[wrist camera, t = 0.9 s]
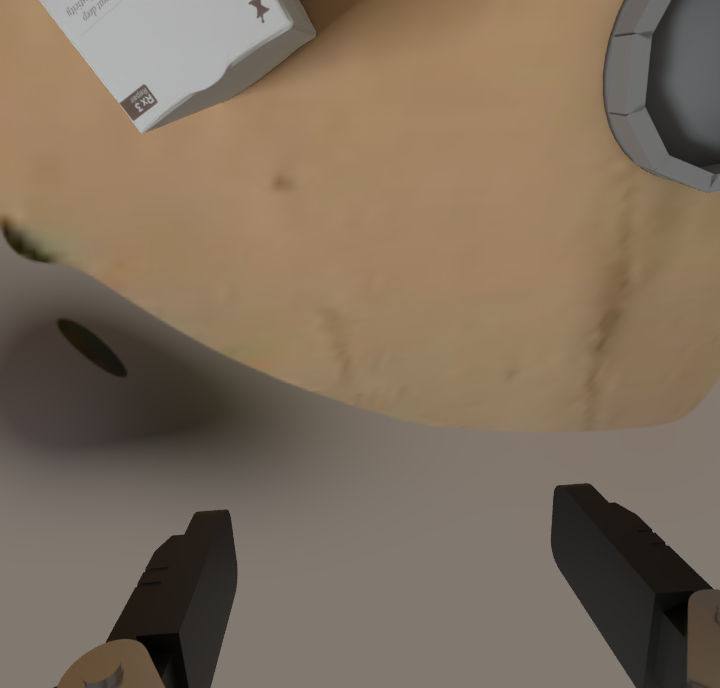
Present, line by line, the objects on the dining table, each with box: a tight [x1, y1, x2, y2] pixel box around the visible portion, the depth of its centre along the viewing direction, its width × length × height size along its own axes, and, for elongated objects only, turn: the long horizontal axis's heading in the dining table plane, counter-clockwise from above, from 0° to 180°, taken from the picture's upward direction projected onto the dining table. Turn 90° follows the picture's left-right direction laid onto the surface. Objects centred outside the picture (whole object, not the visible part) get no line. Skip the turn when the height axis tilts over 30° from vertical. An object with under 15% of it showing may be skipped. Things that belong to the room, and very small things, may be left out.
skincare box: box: [40, 0, 316, 133], centre depth 24 cm, size 8×6×15 cm
